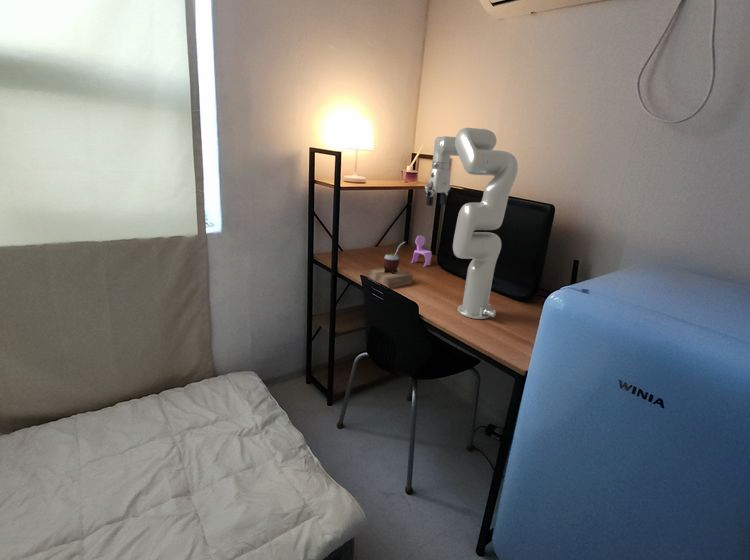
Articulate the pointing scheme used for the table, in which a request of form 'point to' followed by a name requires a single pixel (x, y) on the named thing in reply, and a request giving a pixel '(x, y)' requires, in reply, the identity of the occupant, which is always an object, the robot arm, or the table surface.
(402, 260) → the table surface
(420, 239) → the toy chair
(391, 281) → the cardboard box
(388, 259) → the mate gourd
